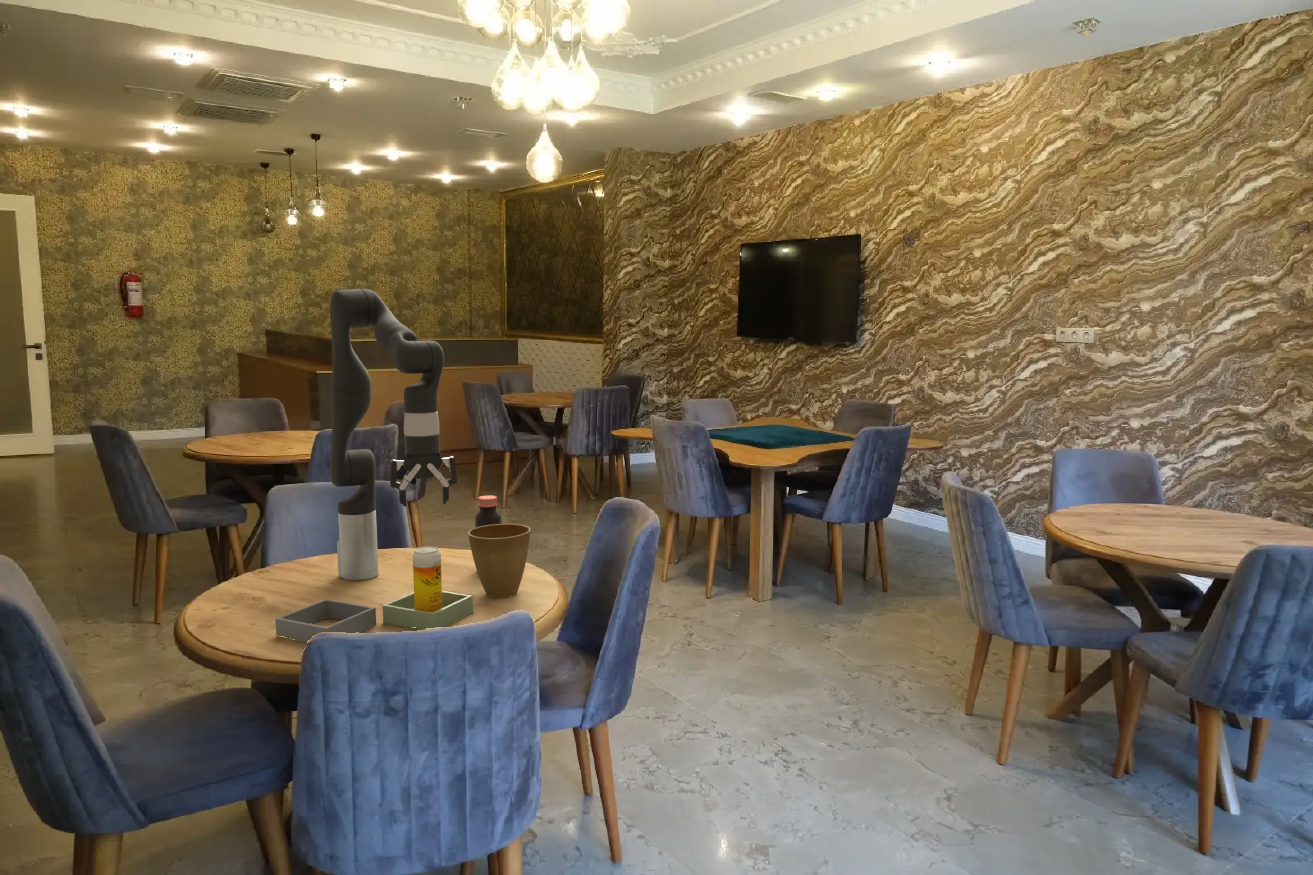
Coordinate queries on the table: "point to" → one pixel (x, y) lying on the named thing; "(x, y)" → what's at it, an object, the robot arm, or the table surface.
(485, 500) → the bottle
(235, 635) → the table surface
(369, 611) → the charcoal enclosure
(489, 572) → the plant pot
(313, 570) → the table surface
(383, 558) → the table surface
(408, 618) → the olive bin
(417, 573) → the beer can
